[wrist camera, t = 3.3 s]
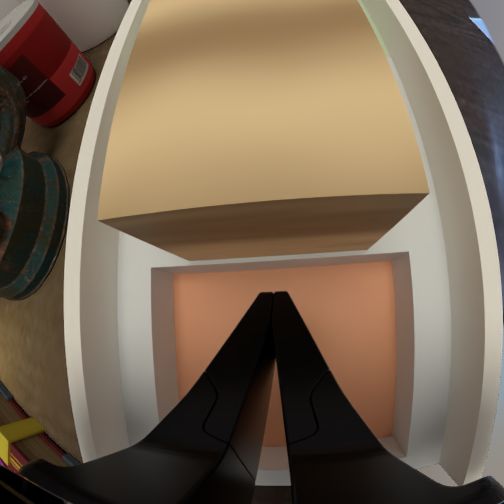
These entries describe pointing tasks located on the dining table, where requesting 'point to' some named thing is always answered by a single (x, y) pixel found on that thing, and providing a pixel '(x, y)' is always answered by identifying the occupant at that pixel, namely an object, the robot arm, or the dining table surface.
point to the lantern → (26, 201)
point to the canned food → (44, 64)
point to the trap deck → (301, 295)
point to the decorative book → (25, 438)
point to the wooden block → (259, 132)
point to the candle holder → (86, 19)
